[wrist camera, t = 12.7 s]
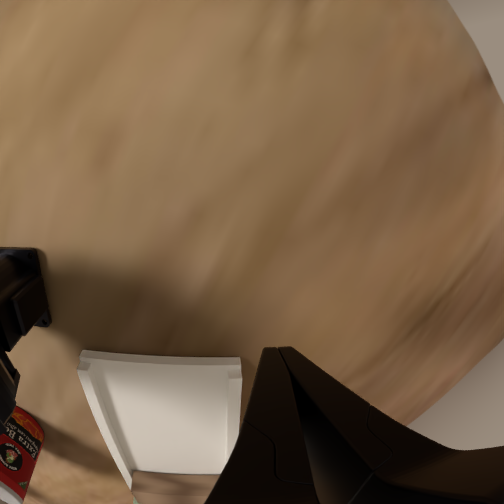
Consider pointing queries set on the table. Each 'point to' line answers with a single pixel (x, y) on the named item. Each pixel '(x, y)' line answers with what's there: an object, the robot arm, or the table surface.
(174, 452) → the track
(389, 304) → the table surface
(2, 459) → the canned food
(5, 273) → the robot arm
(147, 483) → the block
